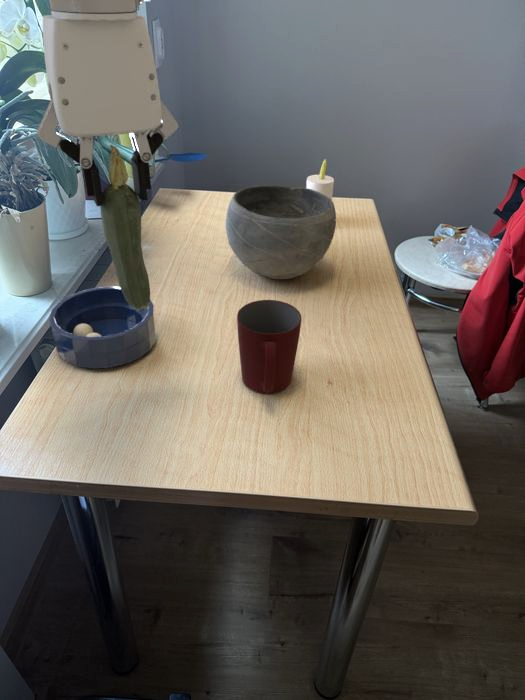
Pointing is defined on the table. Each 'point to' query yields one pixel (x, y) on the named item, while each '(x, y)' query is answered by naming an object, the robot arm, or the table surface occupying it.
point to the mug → (268, 344)
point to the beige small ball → (82, 330)
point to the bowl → (280, 229)
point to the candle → (321, 182)
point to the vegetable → (125, 233)
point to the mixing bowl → (102, 328)
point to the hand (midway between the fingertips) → (119, 197)
